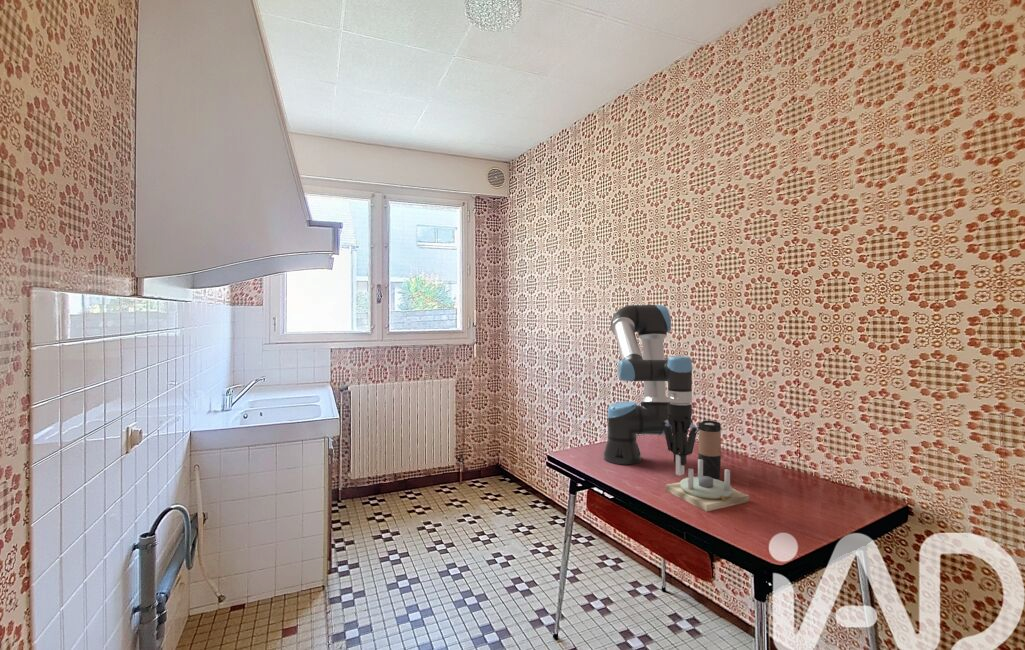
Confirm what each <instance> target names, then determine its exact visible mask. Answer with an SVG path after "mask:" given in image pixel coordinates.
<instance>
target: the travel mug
mask: <svg viewBox="0 0 1025 650" xmlns="http://www.w3.org/2000/svg"><path fill="white" fill-rule="evenodd" d="M721 426H722V425H721V422H719V421H716V420H702V422H700V421H699V422H698V427H699V428H700V430H699V431H698V451H697V452H698V459H702V460H703V476H708V477H711V478H713V479H717V480H720V478H721V463H722V462H721V459H722V444H721V443H722V430H721V429H722V428H721Z"/></svg>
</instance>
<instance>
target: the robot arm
mask: <svg viewBox="0 0 1025 650" xmlns="http://www.w3.org/2000/svg"><path fill="white" fill-rule="evenodd" d="M671 319H672V318H671V314H670V310H669V309H668V308H667V307H666V306H665V305H661V304H638V305H637V304H635V305H634V304H631V305H630V304H629V305H625V306H623V307H620V308H619V309H618V310H617V311H616V312H615V313H614V314H613V316H612V318H611V320H610V329H611V333H612V334H613V335H614V336H615V339H616V343H617V346H618V350H619V355H620V359H621V360H619V361H618V365H617V374H618V379H619V380H620V381H622V382H623V381H624V382H643V393H644V397H643V398H642V399H641V400H640V405H638V404H637V403H636V402H635V401H619V402H614V403H612V404H610V405H609V406H608V408H607V417H606V418H607V441H606V444H605V447H604V450H603V460H605V461H606V462H609V463H611V464H615V465H616V464H617V465H634V464H638V463H641V461H642V453H641V451H640V448H639V445H638V441H637V435H650V436H651V435H652V436H653V435H656V436H662V435H664V436H665V440H666V441H665V442H666V446H667V450H668V452H671V453H672V454H673V463H674V464H675V475H677V476H679V477H680V476H682V475H685V466H686V465H687V456H689V455H692V454H693V451H694V447H695V442H696V438H697V435H698V433H699V430H700V428H699V426H696V425H695V424H694V422H693V418H692V415H693V405H692V403H693V363H692V361H693V360H692V359H691V357H689V356H684V355H683V356H682V355H675V356H673V355H672V356H669V357H668V358H666V359H665V350H664V349H665V348H664V340H665V339H666V338H667V336H668V334H667V333H670V331H671V329H672V320H671ZM636 333H638V334H637V337H638V338H639V339H640V340H641V342H642V344H641V345H642V347H641V348H642V352H641V349H640V346H639V345H640V344H639V342H638V339H637V337H636ZM666 382H667V394H666Z"/></svg>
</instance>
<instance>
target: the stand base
mask: <svg viewBox="0 0 1025 650" xmlns="http://www.w3.org/2000/svg"><path fill="white" fill-rule="evenodd" d="M680 482H681V481H679V482H678V481H677V482H673V483H667V484H665V491H666V492H667V493H669V494H672V495H673V496H675V497H677V498H679V499H681V500H683V501H685V502H687V503H688V504H691V505H693V506H695V507H697V508H699V509H700V510H703V511H704V512H706V513H707V512H710V511H714V510H720V509H723V508H728V507H732V506H736V505H741V504H745V503H749V502H750V494H746V493H744V492H742V491H739V490H737V489H735V488H733V494H732V495H731V496H730V497H728V498H726V496H721V499H709V498H702V497H697V496H694V495H691V494H688V493H686V492H685V491H683V490H682V489H681V487H680Z"/></svg>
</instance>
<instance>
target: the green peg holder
mask: <svg viewBox="0 0 1025 650" xmlns="http://www.w3.org/2000/svg"><path fill="white" fill-rule="evenodd" d="M687 470H688V471H687V472H688V473H687V474H688V475H687V476H688V477H685V478H683V479H681V480H680V481H679V482H680V487H681V489H682V490H683V491H685V492H686V493H688V494H691V495H694V496H697V497H702V498H709V499H721V496H726V498H728V497H730V496H731V495H732V494H733V489H734V488H733V487H732V485H731V470H730V469H727V468H726V469H724V478H723V479H724V481H722V480H720V479H713V478H711V477H708V476H703V460H702V459H699V458H698V459H697V476H694V471H695V470H694V468H691V467H690V468H688V469H687Z"/></svg>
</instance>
